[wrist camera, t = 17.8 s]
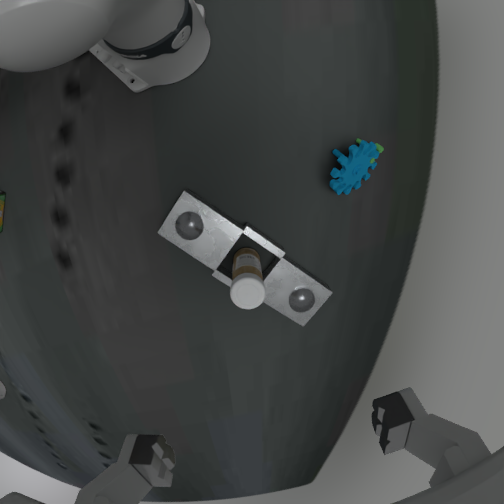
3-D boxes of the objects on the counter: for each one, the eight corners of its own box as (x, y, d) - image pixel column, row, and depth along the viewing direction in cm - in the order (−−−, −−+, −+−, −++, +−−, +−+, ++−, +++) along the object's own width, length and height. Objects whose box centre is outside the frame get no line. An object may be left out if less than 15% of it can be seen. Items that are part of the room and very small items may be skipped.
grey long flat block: (159, 232, 49) (153, 238, 46) (190, 183, 47) (186, 186, 44) (297, 321, 55) (300, 331, 52) (331, 281, 53) (336, 290, 49)
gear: (337, 207, 47) (332, 169, 38) (315, 185, 50) (305, 146, 41) (385, 172, 47) (387, 130, 38) (362, 152, 50) (359, 111, 41)
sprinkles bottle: (229, 267, 52) (225, 304, 39) (238, 243, 50) (236, 273, 37) (255, 275, 52) (258, 314, 39) (264, 251, 51) (271, 284, 38)
